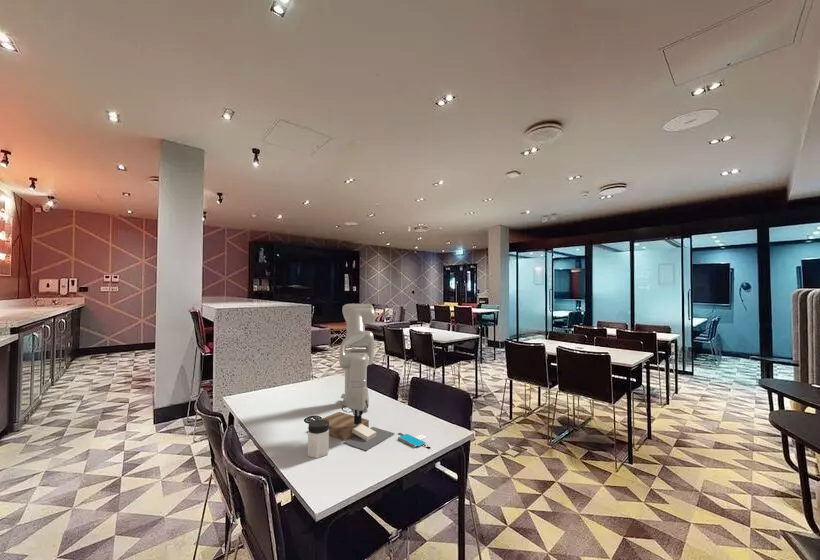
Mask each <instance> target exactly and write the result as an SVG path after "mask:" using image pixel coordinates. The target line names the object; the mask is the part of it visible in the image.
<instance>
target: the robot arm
mask: <svg viewBox="0 0 820 560" xmlns="http://www.w3.org/2000/svg"><path fill="white" fill-rule="evenodd" d="M342 315H343V318H344V320H345V324H346V336H345V338H344V339H343V340H342V342H341V344H340V346H339V350H338V351H339V353H338V354H339V357H338V358H339V367H340V368H341V369H342V370H344V393H342V394H341V395H340V399H342V401H341V405H342V406H344V407H347V408H348V409H349V410H351V411H352V415H353V416H354V424H356V425H358V424H360V423H361V420H362V418H363V417H362V415H364V414H366V413H368V412H369V410H368V408H369V406H370V405H369V404H370V401H369V398H370V397H369V396H370V395H369V390H368V389H369V388H368V386H367V375H368V374H367V373H368V372H367V371H368V370H367V369H368V366H370V365H372V364H373V363H374V358H375V357H374V356H375V353H374V352H375V351H374V350H375V349H374V348H375V346H374V345H375V338H374V334H373V332H372V331H370V330H366V329H365V325H372V324H374V323H375V321H376V311H375V308H374V306H373V305H372V304H371V303H347V304H346V303H345V304H344V305H342ZM347 347H348V348H350V349H347ZM346 349H347V350H346Z"/></svg>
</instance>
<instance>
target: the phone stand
mask: <svg viewBox="0 0 820 560" xmlns="http://www.w3.org/2000/svg"><path fill="white" fill-rule="evenodd" d="M397 435H399V436H398V438H397V440H398V441H400V442H402V443H404V444H406V445H408V446H410V447H413V448H414V449H415V448H416V447H417V446H418V447H420V446H421V447H424V446H426V445H427V444H426V441H424V440H425V439H426V438H428V436H426V435H424V434H419V435H417V436H413V435H411V434H409V433H401V432H398V433H397ZM424 438H425V439H424ZM423 445H424V446H423ZM418 447H417V448H418Z"/></svg>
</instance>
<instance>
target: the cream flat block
mask: <svg viewBox="0 0 820 560" xmlns="http://www.w3.org/2000/svg"><path fill="white" fill-rule="evenodd" d="M370 428H371V427H369V428H368V427H366V426H365V425H363V424H361V425H358V426H356V427H354V428H353V430H352V433H354V434H356V435H357V436H359V437H361V438H362V439H364V440H366V441H368V440H370V439H372V438H374V437H375V436H376V432H375V431H374V430H372V429H370ZM356 435H355V436H356Z"/></svg>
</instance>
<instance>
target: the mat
mask: <svg viewBox="0 0 820 560" xmlns="http://www.w3.org/2000/svg"><path fill="white" fill-rule="evenodd" d="M369 428H370V429H372V430H374V431H375V432H376V436H375V437H374V438H372V439H370V440H368V441H366V440H364V439H362V438H361V437H359V436H357V435H355V436H353V437H351V438H349V439H347V440H346V441H343V444H345V445H347V446H350V447H353V448H356V449H359V450H361V451H364V452H367V451H369V450H371V449H372V448H374V447H376V446H377V445H379V444H381V443H382V442H384V441H385V440H387V439H389V438H391V437H393V436H395V432H391V431H388V430H385V429H382V428H379V427H375V426H371V427H369Z"/></svg>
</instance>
